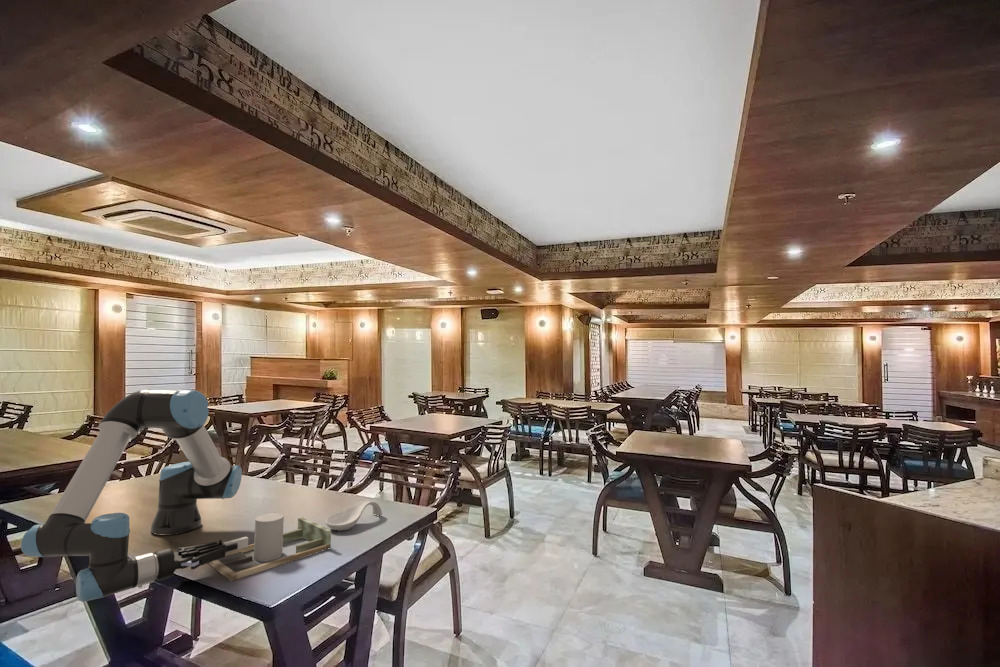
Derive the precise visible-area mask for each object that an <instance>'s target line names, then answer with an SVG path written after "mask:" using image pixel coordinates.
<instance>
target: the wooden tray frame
mask: <svg viewBox="0 0 1000 667" xmlns="http://www.w3.org/2000/svg"><path fill="white" fill-rule="evenodd" d="M300 538H301V539H303V538H304V540H305V539H306V542H303V543H299V544H297V545H295V553H292V554H289V555H287V556H284V557H279V558H277V559H274V560H270V561H266V562H265V563H261V564H260V563H258V562H256V560H254V555H245V554H244V553H246V552H250V551H254V543H251V544H248V547H245V548H242V549H238V550H235V551H231V552H228V553H225V557H222V558H220V559H217V560H214V561H212V562H209V564H210V565H209V564H208V565H209V566H211V567H212V568H213V569H214V570H216V571H217V572H219V573H220V575H222V576H224V577H225V578H227V579H228V581H230V582H233V581H236V580H239V579H242V578H245V577H249V576H251V575H255V574H257V573H261V572H264V571H266V570H269V569H273V568H276V567H279V566H282V565H285V564H288V563H291V562H294V561H297V560H300V559H303V558H302V557H304V558H306V557H305V556H307V557H308V555H310V554H313V555H315V554H314V553H316V552H319V551H322V550H325V549H328V548H330V549H331V546H332V545H331V543H332V542H331V541H332V540H331V539H332V529H331V528H327V527H326V526H324V525H321V524H319V523H316V522H314V521H311V520H310V519H307V518H305V517H302V516H301V517H298V518H297V528H296V529H294V530H291V531H288V532H287V531H286V532H283V543H284V544H288V543H291V542H294V541H297V539H298V540H301V539H300ZM293 540H294V541H293ZM307 540H308V541H307ZM290 541H291V542H290ZM328 550H329V549H328ZM325 551H326V550H325ZM322 552H323V551H322ZM319 553H320V552H319ZM316 554H317V553H316ZM310 556H311V555H310ZM299 558H300V559H299ZM296 559H297V560H296ZM293 560H294V561H293ZM290 561H291V562H290ZM287 562H288V563H287ZM281 564H282V565H281Z"/></svg>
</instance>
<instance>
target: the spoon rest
mask: <svg viewBox="0 0 1000 667" xmlns="http://www.w3.org/2000/svg"><path fill="white" fill-rule="evenodd" d="M369 505H371V507H372V515H373V514H376V515H382V516H383V513H382V511H383V510H382V508H381V506H380V505H379V504H378V503H377V502H376V501H371V500H362V501H359V502H357V503H356V504H353V505H351V506H349V507H347V508H346V509H344V510H341V511H339V512H336V513H334V514H331V515H330V516H328V517H327V518H326V519H325V525H326V526H327V527H328V528H329V529H330V530H332V531H336V530H337V532H342V530H345V531H348V530H347V529H349V530H350V528H351V529H352V528H353V527H354V526H355V525H356V524H357V523H358V522H359V519H360V518H361V516H362V514H363V512H364V510H365V509H366V507H367V506H369ZM376 515H375V516H376Z"/></svg>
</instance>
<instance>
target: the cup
mask: <svg viewBox="0 0 1000 667" xmlns="http://www.w3.org/2000/svg"><path fill="white" fill-rule="evenodd" d="M284 517H285V516H284V514H283V513H279V512H278V513H277V512H271V513H264V514H261V515H258V516H256V517H255V518H254V520H255V522H254V542H253V544H254V550H253V561H255V562H256V561H257V562H270V561H274V560H277V559H279V558H281V557H282V555H283V545H284V544H283V533H284V521H285V520H284V519H285V518H284ZM278 557H279V558H278ZM276 558H277V559H276ZM273 559H274V560H273ZM269 560H270V561H269Z"/></svg>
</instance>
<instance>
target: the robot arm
mask: <svg viewBox="0 0 1000 667" xmlns="http://www.w3.org/2000/svg"><path fill="white" fill-rule="evenodd" d="M208 407H209V402H208V399H207V397H206V396H205V395H204V394H203V393H202V392H200V391H198V390H194V389H193V390H191V389H141V390H138V391H135V392H132V393H130V394H129V395H127V396H125V397H124V398H122V399H121V400H119V401H118V402H117V403H116V404H114V405H113V406H112V408H110V410H108V411H107V413H106V414H105V415H104V416H103V418H102V419H101V421H100V423H99V424H98V426H97V428H98V431H99V432H98V434H97V436H96V437H95V439H94V441H93V443H92V444H91V445H90V448H89V449H88V451H87V453H86V454H85V456H84V458H83V459H82V461H81V463H80V464H79V466H78V467H77V470H76V471H75V473H74V474H73V476H72V478H71V479H70V481H69V483H68V484H67V486H66V488H65V490H64V492H63V493H62V495H61V496H60V498H59V500H58V502H57V503H56V505H55V506H54V508H53V510H52V512H51V513H50V514H49V516H48V518H47V519H46V521H45V522H44V523H40V524H39V523H38V524H34V525H33V526H31V527H30V529H27V530H26V531H25V533H24V535H23V536H22V539H21V542H20V550H21V552H22V553H23V554H24V555H25V556H27V557H34V558H36V557H37V558H38V557H39V558H49V557H51V558H52V557H84V556H85V557H86V556H87V557H89V562H88V567H86V568H84V569H80V571H78V573H77V574H76V575H77V576H76V578H75V591H76V593H75V594H76V598H77V600H78V601H79V602H82V603H83V602H84V603H85V602H88V601H94V600H97V599H103V598H105V597H108V596H111V595H114V594H117V593H122V592H125V591H128V590H130V589H131V590H132V589H135V588H138V589H139V588H140V589H141V588H143V586H144V585H148V584H151V583H154V582H155V581H156V582H158V581H159V582H160V581H163V580H166V579H169V578H171V577H173V575H174V574H175V571H176V570H181V569H182V570H183V569H186V568H189V567H190V569H191V570H195V569H198V568H199V567H201V566H204V565H206V564H208V563H209V562H212V561H214V560H217V559H220V558H222V557H225V553H228V552H231V551H235V550H238V549H242V548H245V547H248V545H249V537H248V536H243V537H239V538H235V539H232V540H228V541H224V542H223V539H218V541H212V542H207V543H202V544H195V545H191V546H184V547H183V546H182V547H177V550H176V551H174V550H173V549H172V548H169V547H167V548H164V549H160V550H156V551H155V552H154V553H153V552H147V553H143V554H139V555H136V556H132V557H128V555H129V543H130V541H129V540H130V533H131V529H130V516H129V515H128V514H127V513H125V512H113V513H105V514H102V515H98V516H97V517H95V518H93V519H92V521H91V523H90V522H89V523H88V522H87V523H86V521H87V519H88V517H89V515H90V513H91V512H92V510H93V508H94V506H95V504H96V503H97V501H98V499H99V497H100V495H101V493H102V492H103V489H104V488H105V486H106V485H107V482H108V481H109V479H110V477H111V475H112V473H113V472H114V470H115V467H116V466H117V464H118V462H119V460H120V459H121V457H122V455H123V453H124V452H125V449H126V448H127V446H128V444H129V442H130V440H132V439H135V438H136V437H137V436H138V433H139V432H140V431H141V430H142V429H145V428H146V429H161V430H162V431H163V433H164V435H165V436H167V438H169V439H173V440H175V441H176V443H177V444H178V446H179V447H180V449H181V451H182V452H183V453H184V456H185V458H186V459H187V461H183V462H179V463H174V464H170V465H167V466H165V467H163V468H162V469H161V470H160V473H159V474H160V475H159V479H158V483H159V485H158V506H157V510H156V514H155V515H154V518H153V521H152V522H151V526H150V533H151V532H152V533H156V534H174V535H177V534H176V533H180V534H183V533H182V532H185V533H187V532H186V531H188V532H191V531H190V530H192V531H194V530H195V528H196V529H198V528H199V526H200V527H201V526H202V516H201V513H200V511H199V508H198V504H197V500H208V499H209V500H210V499H211V500H216V499H217V500H219V499H220V500H224V499H231V498H233V497H234V496H235V495H237V493H238V491H239V488H240V486H241V482H242V477H243V470H242V467H241V466H240V465H236V464H234V465H232V464H231V463H230V461H229V460H228V459H227V458H225V457H222V456H221V454H220V453H219V451H218V448H217V447H216V445H215V443H214V442H213V440H212V438H211V436H210V434H209V432H208V430H207V429H206V427H205V424H206V422H207V420H208V417H209V411H210V410H209V408H208ZM197 527H198V528H197ZM193 529H194V530H193ZM152 533H151V534H152Z"/></svg>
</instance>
